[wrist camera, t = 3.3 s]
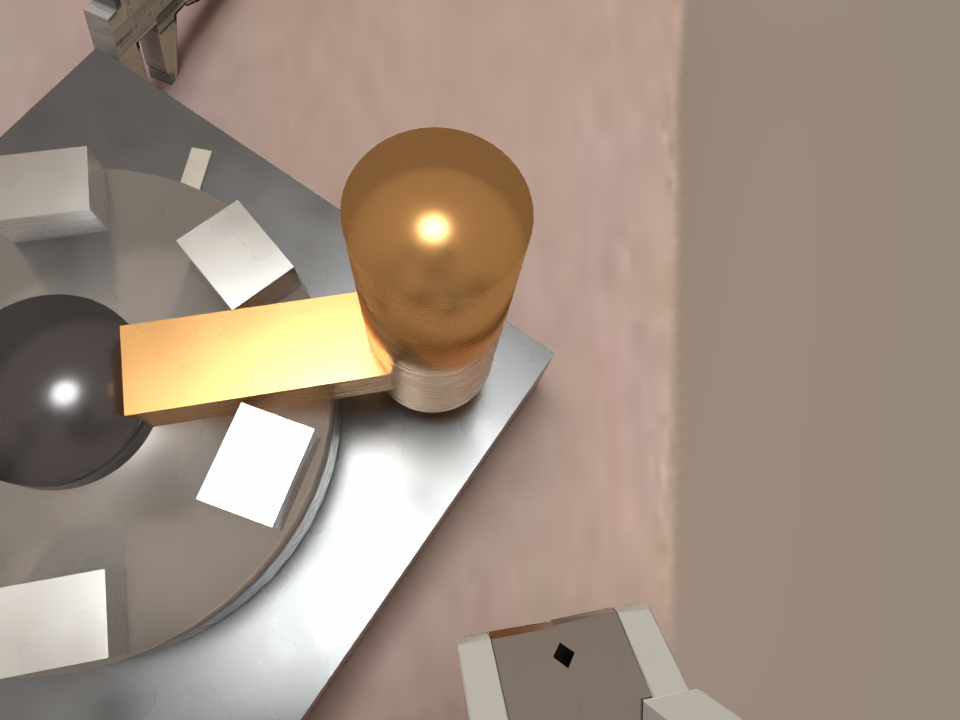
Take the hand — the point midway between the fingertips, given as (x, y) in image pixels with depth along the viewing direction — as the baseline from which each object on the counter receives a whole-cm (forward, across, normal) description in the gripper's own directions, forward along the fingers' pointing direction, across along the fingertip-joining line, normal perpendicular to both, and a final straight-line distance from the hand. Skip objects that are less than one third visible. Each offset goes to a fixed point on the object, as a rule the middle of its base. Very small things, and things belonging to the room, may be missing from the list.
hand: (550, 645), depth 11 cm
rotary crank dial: (+13, +8, +2) cm, 16 cm away
